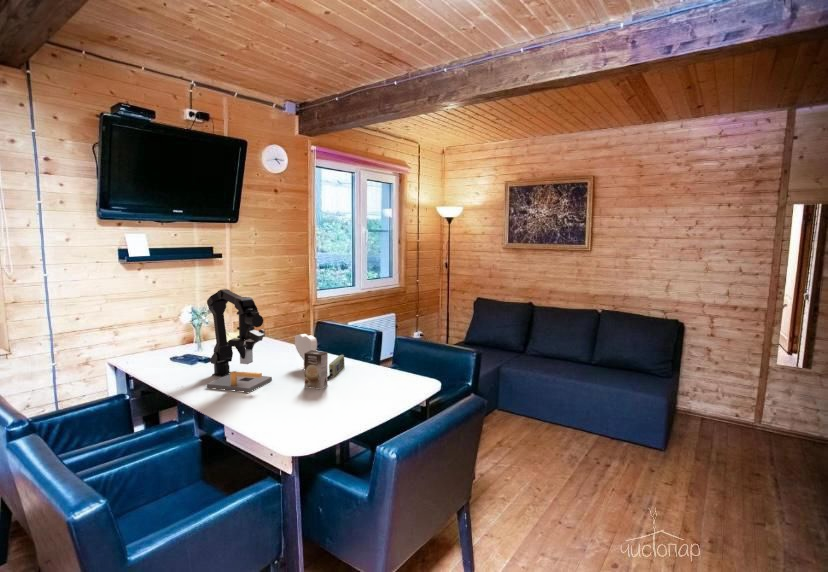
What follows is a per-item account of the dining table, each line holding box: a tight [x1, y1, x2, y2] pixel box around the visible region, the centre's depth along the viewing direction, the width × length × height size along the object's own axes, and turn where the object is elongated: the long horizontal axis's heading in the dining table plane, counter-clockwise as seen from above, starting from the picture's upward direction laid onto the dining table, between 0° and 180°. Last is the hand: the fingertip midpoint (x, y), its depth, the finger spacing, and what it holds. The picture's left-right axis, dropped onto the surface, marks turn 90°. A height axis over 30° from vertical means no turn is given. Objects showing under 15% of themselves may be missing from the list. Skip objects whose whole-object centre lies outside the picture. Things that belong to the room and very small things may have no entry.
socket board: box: [206, 373, 273, 393], centre depth 208 cm, size 22×18×2 cm
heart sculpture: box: [294, 333, 318, 369], centre depth 234 cm, size 16×5×18 cm, turn 47°
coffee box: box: [303, 350, 329, 390], centre depth 205 cm, size 9×6×16 cm
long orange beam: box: [230, 370, 263, 385], centre depth 199 cm, size 3×14×6 cm, turn 82°
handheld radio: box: [327, 354, 345, 380], centre depth 228 cm, size 7×3×25 cm
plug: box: [239, 348, 254, 365], centre depth 208 cm, size 4×4×6 cm
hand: (246, 357), depth 208 cm, fingers closed on plug, 4 cm apart
